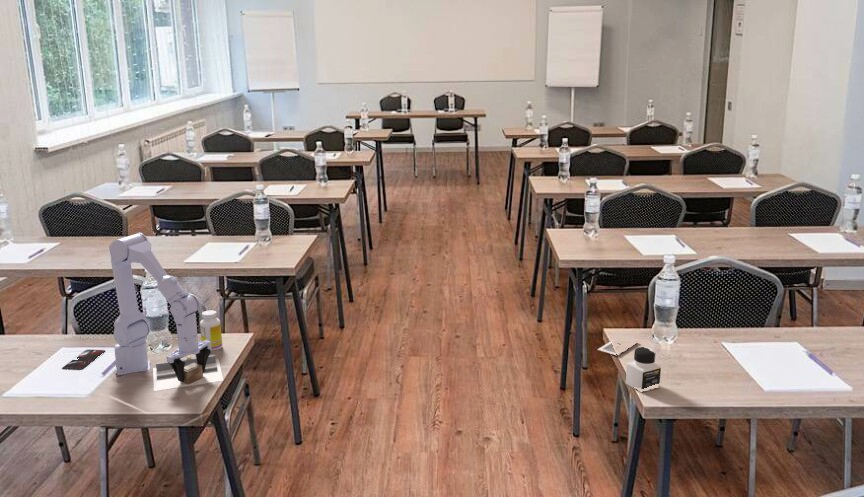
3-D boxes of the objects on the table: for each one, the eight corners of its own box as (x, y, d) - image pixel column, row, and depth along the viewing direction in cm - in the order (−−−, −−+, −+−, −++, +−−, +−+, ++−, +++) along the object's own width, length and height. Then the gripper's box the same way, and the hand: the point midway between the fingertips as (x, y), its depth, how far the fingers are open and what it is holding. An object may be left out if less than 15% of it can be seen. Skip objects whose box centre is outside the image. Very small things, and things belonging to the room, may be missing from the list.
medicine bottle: (641, 393, 221) (644, 356, 217) (625, 384, 227) (627, 347, 224) (659, 388, 224) (663, 351, 221) (642, 379, 230) (645, 343, 227)
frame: (188, 384, 225) (187, 371, 224) (180, 381, 227) (178, 368, 226) (203, 377, 230) (201, 364, 229) (195, 374, 232) (193, 361, 231)
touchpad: (596, 352, 250) (597, 346, 250) (618, 339, 261) (618, 333, 261) (618, 358, 245) (618, 352, 245) (639, 345, 256) (639, 339, 256)
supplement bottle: (225, 344, 256) (222, 309, 252) (218, 352, 250) (215, 316, 246) (206, 343, 257) (203, 308, 253) (199, 351, 250) (195, 315, 247)
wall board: (154, 392, 222) (152, 381, 221) (153, 369, 237) (152, 359, 236) (223, 382, 228) (222, 371, 227) (218, 360, 244) (217, 350, 243)
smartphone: (60, 368, 237) (86, 349, 252) (60, 370, 238) (86, 351, 252) (82, 369, 237) (106, 350, 251) (82, 371, 237) (106, 351, 251)
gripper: (175, 345, 217) (180, 388, 220) (215, 330, 228) (219, 370, 232) (160, 340, 220) (165, 382, 224) (200, 325, 232) (204, 365, 236)
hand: (191, 376), depth 228 cm, fingers open, 7 cm apart
